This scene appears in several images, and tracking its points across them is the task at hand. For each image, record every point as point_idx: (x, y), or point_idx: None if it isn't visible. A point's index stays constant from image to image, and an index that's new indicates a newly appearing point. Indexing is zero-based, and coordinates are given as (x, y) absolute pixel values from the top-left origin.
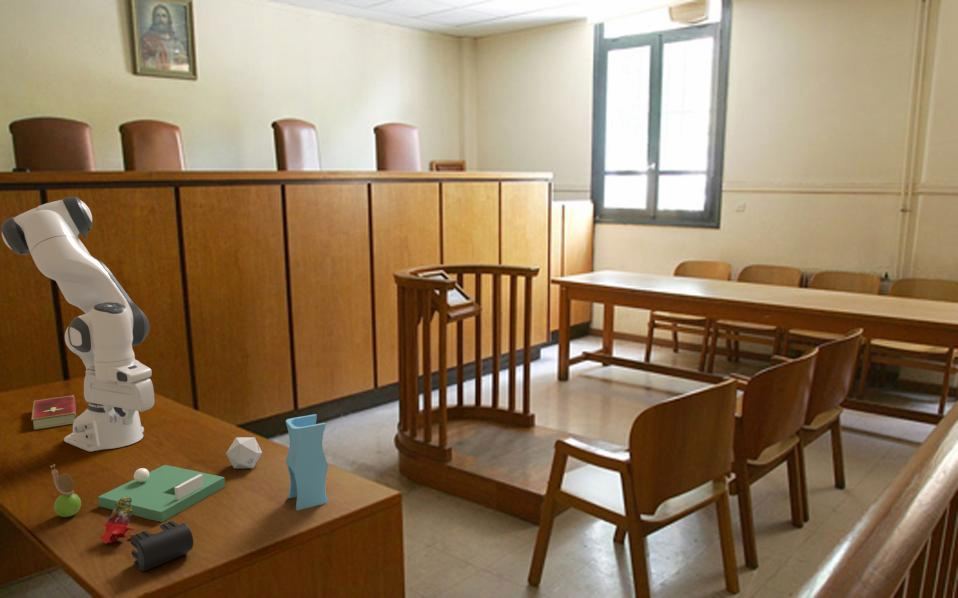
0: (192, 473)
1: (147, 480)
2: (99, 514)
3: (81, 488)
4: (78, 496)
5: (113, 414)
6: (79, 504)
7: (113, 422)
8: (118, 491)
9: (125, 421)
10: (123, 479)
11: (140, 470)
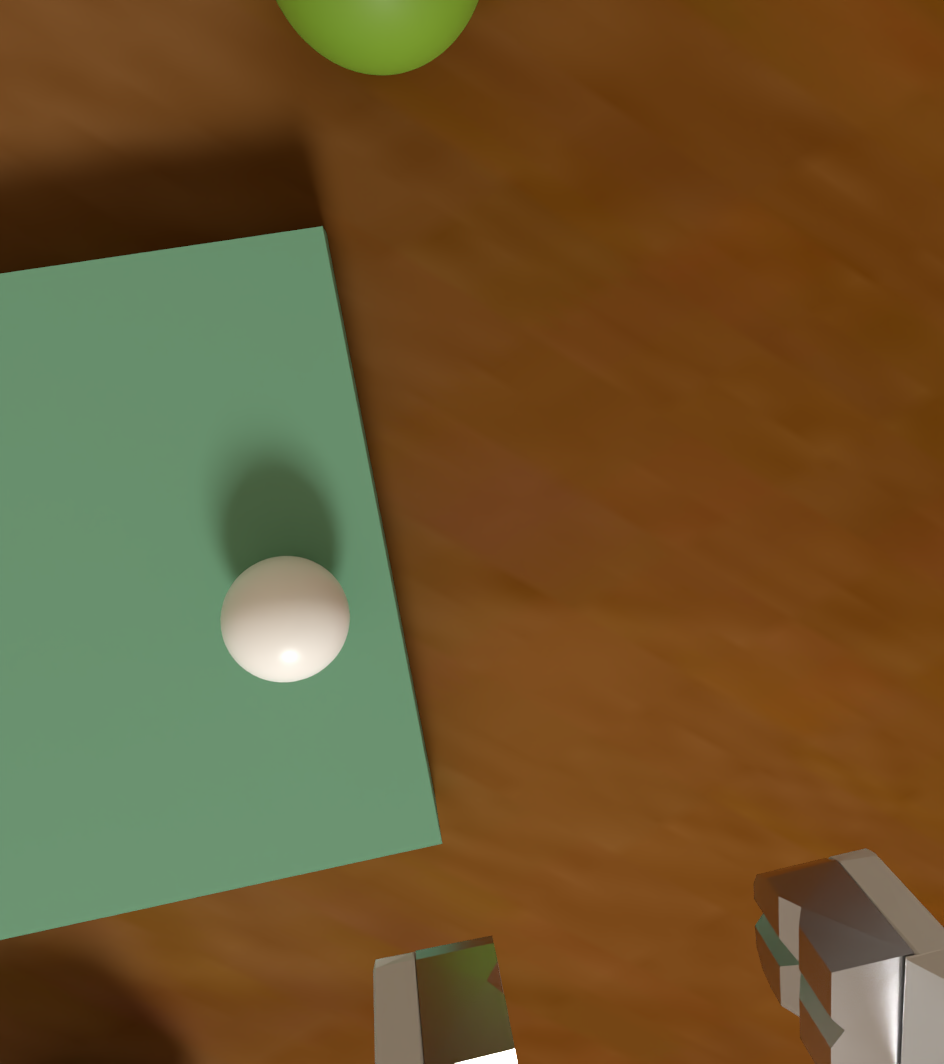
0: (111, 880)
1: None
2: (180, 145)
3: (744, 344)
4: (343, 30)
5: (904, 1031)
6: (282, 10)
7: (759, 877)
8: (274, 384)
9: (413, 1012)
10: (609, 594)
11: (258, 626)
